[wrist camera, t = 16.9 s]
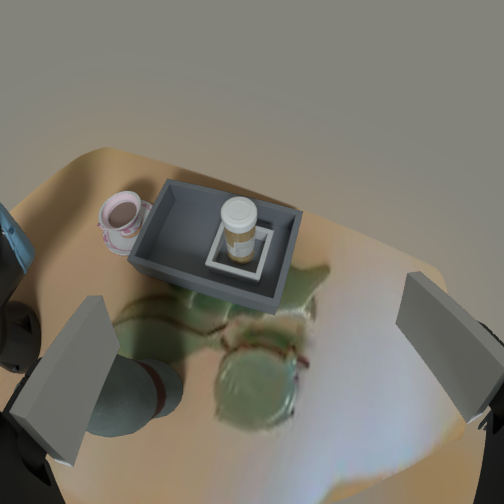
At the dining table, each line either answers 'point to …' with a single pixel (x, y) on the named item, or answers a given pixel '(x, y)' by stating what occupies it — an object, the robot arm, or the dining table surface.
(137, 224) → the teacup
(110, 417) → the vodka
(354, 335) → the dining table surface
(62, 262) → the dining table surface
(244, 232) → the sprinkles bottle
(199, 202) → the walled box
